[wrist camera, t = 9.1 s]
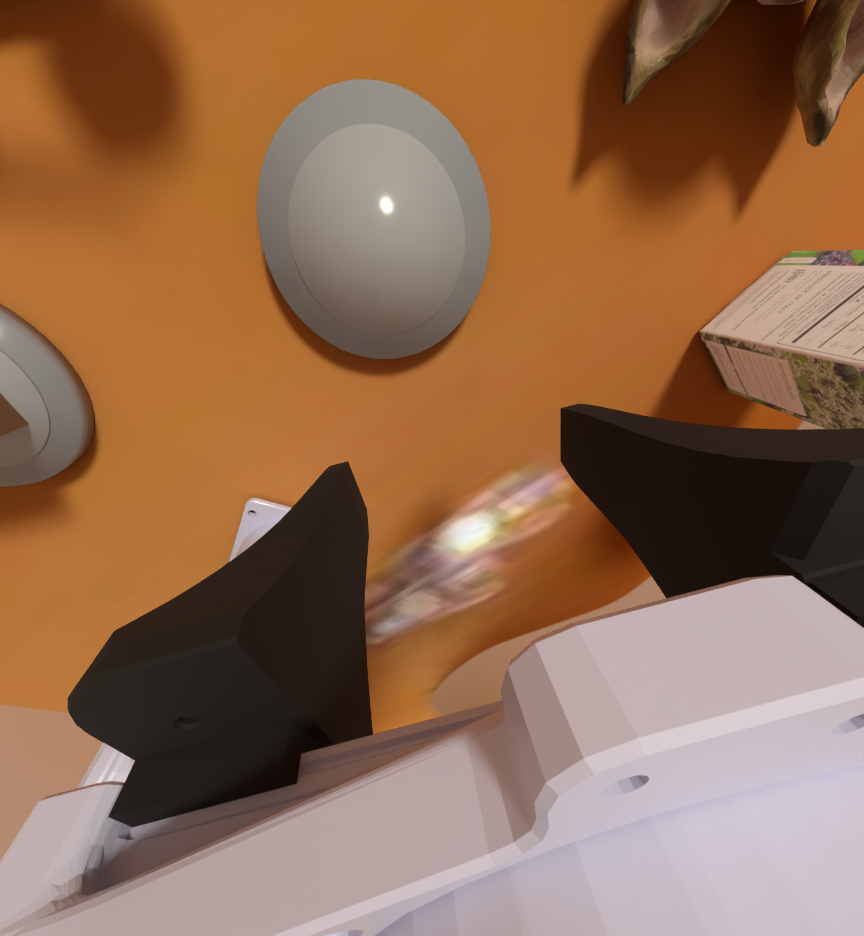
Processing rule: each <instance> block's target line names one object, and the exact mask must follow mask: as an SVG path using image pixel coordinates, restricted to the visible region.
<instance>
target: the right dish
mask: <svg viewBox="0 0 864 936" xmlns="http://www.w3.org/2000/svg"><path fill="white" fill-rule="evenodd" d="M257 215H258V225H259V234H260V238H261V243H262V248H263V252H264V255H265V258H266V261H267V264H268V267H269V270H270V272H271V274H272V277H273V279H274V281H275V283H276V285H277V287H278V289H279V290H280V292H281V294H282V296H283V297H284V299H285V300H286V302H287V303H288V305H289V306H290V307H291V309H292V310H293V311H294V313H295V314H296V315H297V316H298V317H299V318H300V319H301V320H302V321H303V322H304V324H305V325H306V326H308V327H309V328H310V329H311V330H312V331H313V332H315V333H316V334H317V335H318V336H320V337H321V338H323V339H324V340H325V341H327V342H328V343H330V344H332V345H334V346H336V347H338V348H339V349H341V350H344V351H346V352H349V353H352V354H354V355H358V356H362V357H367V358H374V359H396V358H402V357H407V356H410V355H414V354H417V353H420V352H422V351H424V350H426V349H428V348H430V347H432V346H433V345H435V344H437V343H438V342H440V341H441V340H442V339H444V338H445V337H446V336H447V335H449V334H450V333H451V332H452V331H453V330H454V329H455V328H456V327H457V326H458V324H459V323H460V322H461V321H462V320H463V318H464V317H465V315H466V314H467V313H468V311H469V310H470V308H471V306H472V304H473V303H474V301H475V299H476V297H477V295H478V292H479V290H480V288H481V285H482V282H483V279H484V276H485V272H486V269H487V263H488V258H489V252H490V238H491V229H490V213H489V206H488V199H487V195H486V191H485V187H484V183H483V180H482V177H481V175H480V172H479V169H478V166H477V164H476V162H475V160H474V158H473V156H472V154H471V152H470V150H469V148H468V146H467V145H466V143H465V142H464V140H463V139H462V137H461V135H460V134H459V132H458V131H457V130H456V129H455V127H454V126H453V125H452V124H451V123H450V122H449V120H448V119H447V118H446V117H445V116H444V115H443V114H442V113H441V112H440V111H439V110H437V109H436V108H435V107H434V106H433V105H432V104H431V103H429V102H428V101H426V100H425V99H423V98H422V97H420V96H418V95H417V94H415V93H414V92H412V91H409V90H407V89H405V88H403V87H400V86H398V85H395V84H391V83H387V82H383V81H379V80H366V79H359V80H350V81H343V82H339V83H336V84H333V85H330V86H327V87H325V88H323V89H321V90H319V91H317V92H316V93H314V94H312V95H310V96H309V97H308V98H306V99H305V100H304V101H303V102H301V103H300V104H299V105H298V106H296V107H295V109H294V110H293V111H292V112H291V113H290V114H289V115H288V117H287V118H286V119H285V120H284V121H283V123H282V124H281V126H280V128H279V129H278V131H277V132H276V134H275V136H274V137H273V139H272V142H271V144H270V146H269V149H268V151H267V153H266V156H265V159H264V163H263V167H262V170H261V174H260V181H259V188H258V204H257Z"/></svg>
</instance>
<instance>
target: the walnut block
mask: <svg viewBox="0 0 864 936" xmlns="http://www.w3.org/2000/svg"><path fill="white" fill-rule="evenodd" d="M25 425H28V422H27V421H26V420H25V419H24V418H23V417H22V416H21V415H20V414H19V413H18V412H17V411H16V409H15V408H14V407H13V406H12V405H11V404H10V403H9V402H8V401H7V400H6V399H5V397H4V396H3V395H2V394H1V393H0V437H1V436H4V435H6V434H8V433H10V432H12V431H14V430H17V429H19V428H21V427H23V426H25Z"/></svg>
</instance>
